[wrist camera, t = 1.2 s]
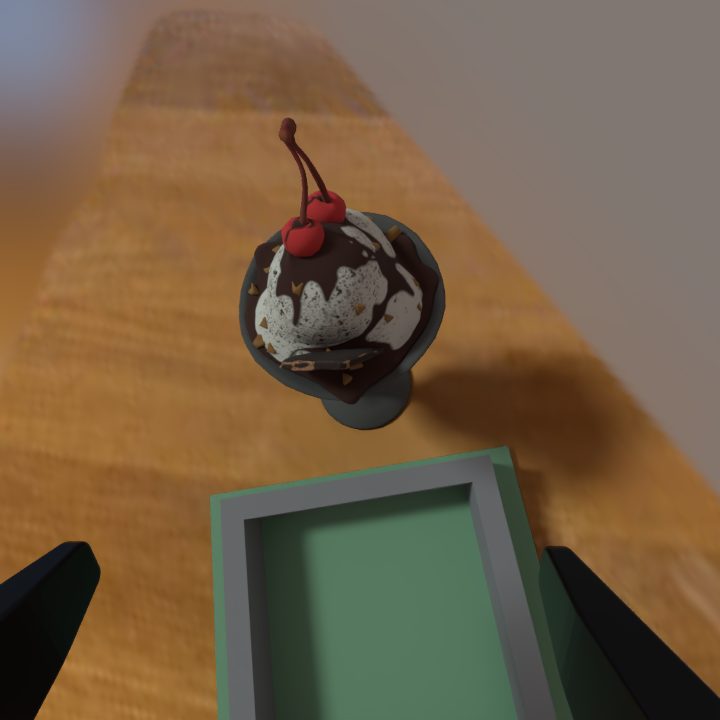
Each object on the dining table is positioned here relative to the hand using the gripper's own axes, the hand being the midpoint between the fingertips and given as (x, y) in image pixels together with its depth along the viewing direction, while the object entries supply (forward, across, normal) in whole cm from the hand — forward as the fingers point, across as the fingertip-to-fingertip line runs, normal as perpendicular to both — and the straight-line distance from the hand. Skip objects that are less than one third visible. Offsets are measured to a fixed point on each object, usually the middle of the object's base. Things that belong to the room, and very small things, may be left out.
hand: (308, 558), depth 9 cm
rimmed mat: (+7, -1, +12) cm, 14 cm away
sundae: (+15, 0, +4) cm, 15 cm away
